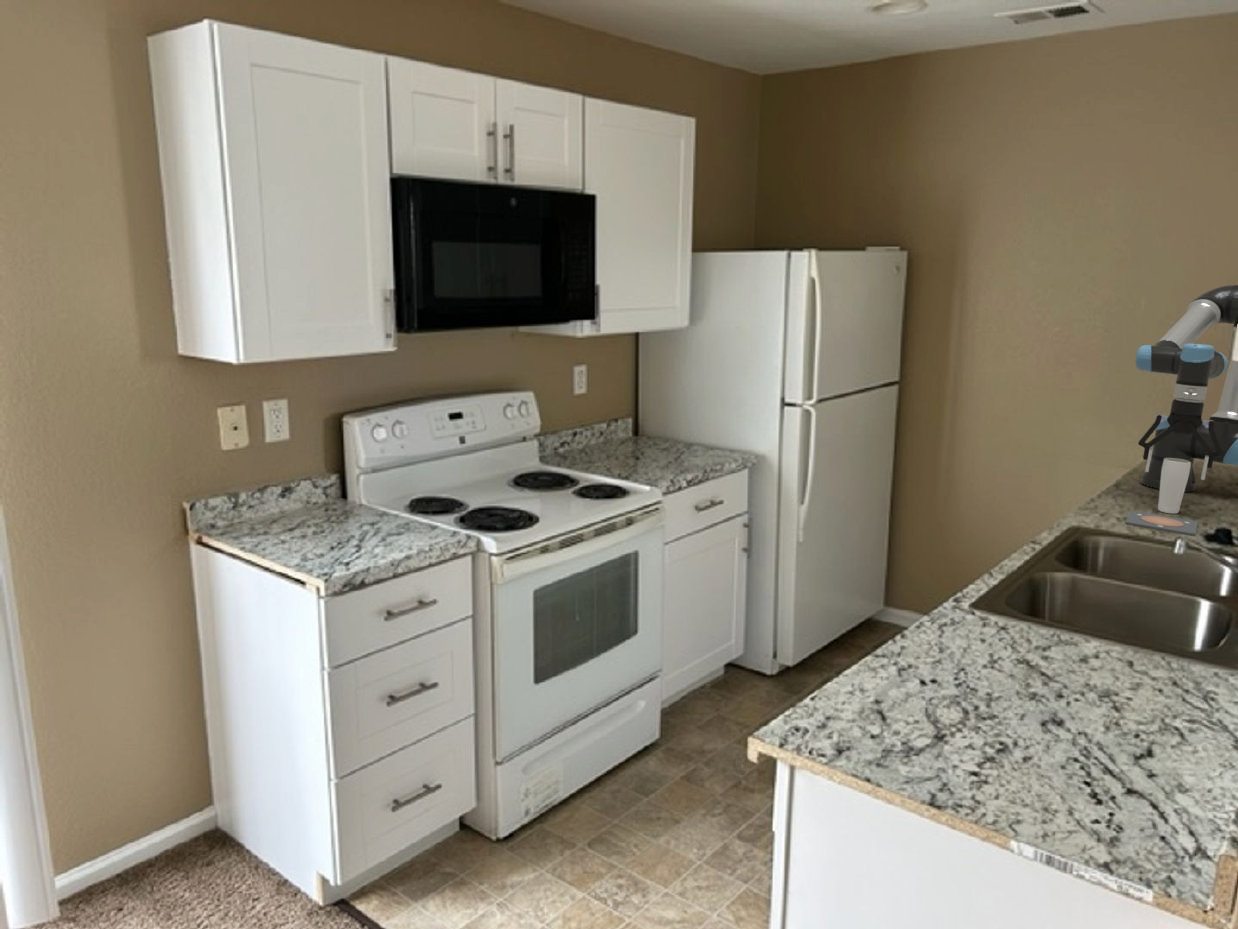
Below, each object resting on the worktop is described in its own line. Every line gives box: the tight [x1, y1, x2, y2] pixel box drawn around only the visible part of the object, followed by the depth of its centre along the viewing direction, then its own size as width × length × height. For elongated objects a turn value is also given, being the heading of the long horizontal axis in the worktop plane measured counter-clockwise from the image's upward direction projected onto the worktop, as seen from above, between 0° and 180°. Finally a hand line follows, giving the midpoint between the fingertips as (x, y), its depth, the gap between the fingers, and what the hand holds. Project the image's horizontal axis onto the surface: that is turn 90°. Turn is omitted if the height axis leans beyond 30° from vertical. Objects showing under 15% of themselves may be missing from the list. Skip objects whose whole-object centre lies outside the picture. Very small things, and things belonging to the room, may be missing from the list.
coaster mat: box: [1124, 510, 1199, 537], centre depth 249 cm, size 16×16×1 cm
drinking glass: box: [1157, 458, 1191, 515], centre depth 261 cm, size 7×7×15 cm
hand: (1174, 475), depth 260 cm, fingers open, 13 cm apart
